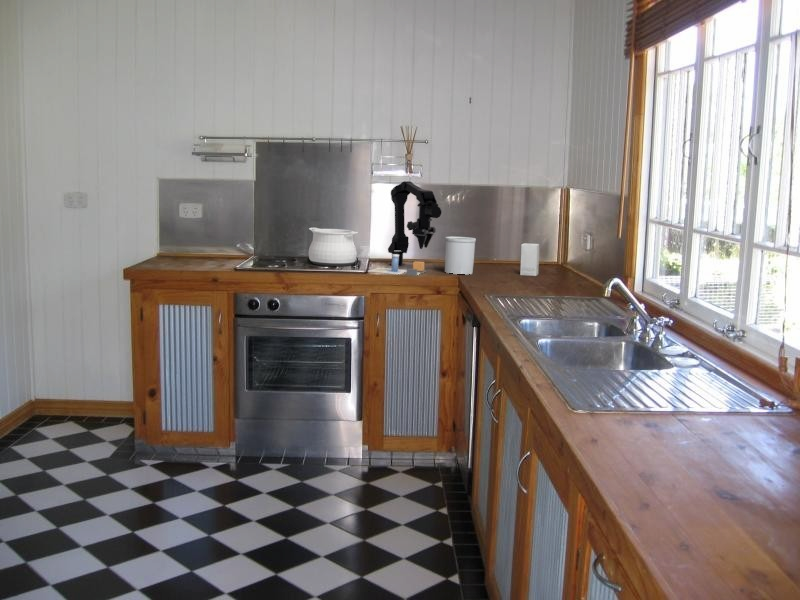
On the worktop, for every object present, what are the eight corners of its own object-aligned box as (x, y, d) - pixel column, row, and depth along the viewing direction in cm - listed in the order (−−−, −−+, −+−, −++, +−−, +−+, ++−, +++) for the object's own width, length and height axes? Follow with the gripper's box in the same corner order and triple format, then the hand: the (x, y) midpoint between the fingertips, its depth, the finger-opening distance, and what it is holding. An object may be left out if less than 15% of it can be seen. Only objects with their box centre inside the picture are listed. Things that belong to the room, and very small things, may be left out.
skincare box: (538, 274, 442) (540, 243, 439) (536, 276, 436) (538, 245, 433) (521, 273, 444) (523, 242, 442) (519, 275, 438) (521, 243, 436)
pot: (295, 263, 448) (296, 228, 445) (324, 259, 468) (325, 226, 466) (340, 269, 433) (342, 233, 430) (368, 264, 454) (369, 230, 451)
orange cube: (415, 269, 433) (415, 261, 432) (424, 270, 432) (424, 262, 431) (412, 270, 429) (413, 262, 429) (421, 271, 428) (421, 262, 427)
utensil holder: (448, 270, 446) (450, 235, 443) (477, 272, 441) (479, 237, 438) (439, 273, 432) (441, 237, 429) (469, 276, 427) (471, 240, 424)
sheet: (378, 268, 441) (378, 267, 441) (409, 271, 436) (409, 270, 436) (367, 271, 427) (367, 270, 427) (398, 274, 422) (398, 273, 422)
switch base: (415, 271, 435) (416, 265, 434) (425, 272, 433) (425, 266, 433) (406, 274, 422) (406, 268, 421) (416, 275, 420) (416, 269, 420)
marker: (392, 270, 431) (393, 253, 430) (398, 271, 430) (400, 254, 429) (390, 271, 428) (391, 254, 426) (396, 272, 427) (397, 255, 425)
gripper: (415, 214, 443) (414, 245, 446) (402, 216, 426) (401, 248, 429) (436, 215, 440) (435, 247, 442) (424, 217, 422) (423, 250, 425)
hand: (423, 248), depth 435 cm, fingers open, 7 cm apart
